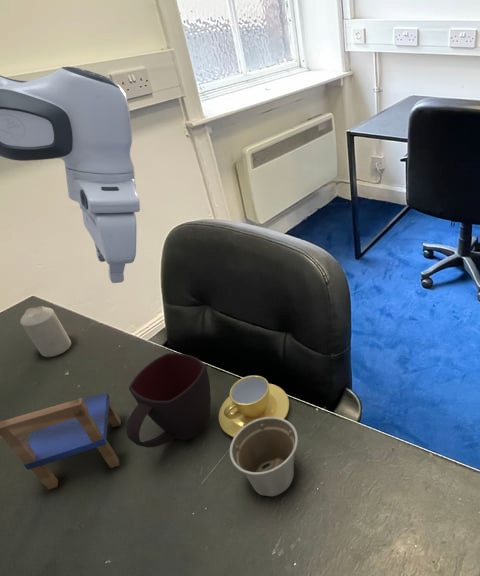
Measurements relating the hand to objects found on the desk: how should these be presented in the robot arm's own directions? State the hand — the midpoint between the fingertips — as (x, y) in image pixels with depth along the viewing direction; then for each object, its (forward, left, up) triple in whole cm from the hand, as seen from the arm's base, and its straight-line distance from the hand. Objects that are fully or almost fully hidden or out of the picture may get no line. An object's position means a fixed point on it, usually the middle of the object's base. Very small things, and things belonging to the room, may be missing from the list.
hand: (110, 270), depth 73 cm
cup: (+22, -13, -23) cm, 34 cm away
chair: (-4, -18, -23) cm, 30 cm away
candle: (-22, +8, -23) cm, 33 cm away
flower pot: (+26, -25, -23) cm, 43 cm away
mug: (+10, -16, -23) cm, 30 cm away
